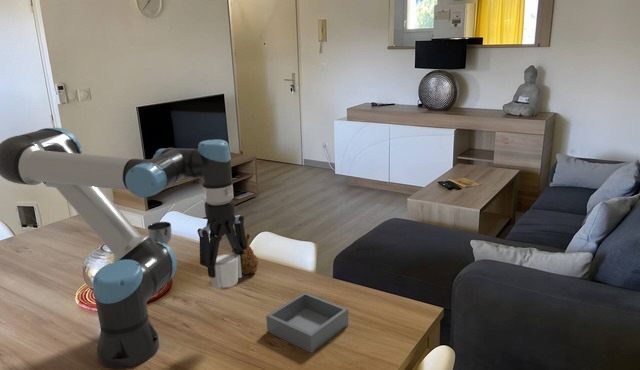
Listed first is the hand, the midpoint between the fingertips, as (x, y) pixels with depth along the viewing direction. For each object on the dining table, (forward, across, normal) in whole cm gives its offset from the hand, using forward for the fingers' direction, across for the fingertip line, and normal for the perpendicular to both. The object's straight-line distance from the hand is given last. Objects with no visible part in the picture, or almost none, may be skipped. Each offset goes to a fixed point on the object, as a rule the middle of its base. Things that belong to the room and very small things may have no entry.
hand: (227, 281), depth 132 cm
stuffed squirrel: (+15, +28, +25) cm, 41 cm away
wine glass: (+15, +13, +53) cm, 56 cm away
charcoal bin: (+15, +14, -16) cm, 26 cm away
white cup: (+1, 0, 0) cm, 1 cm away
